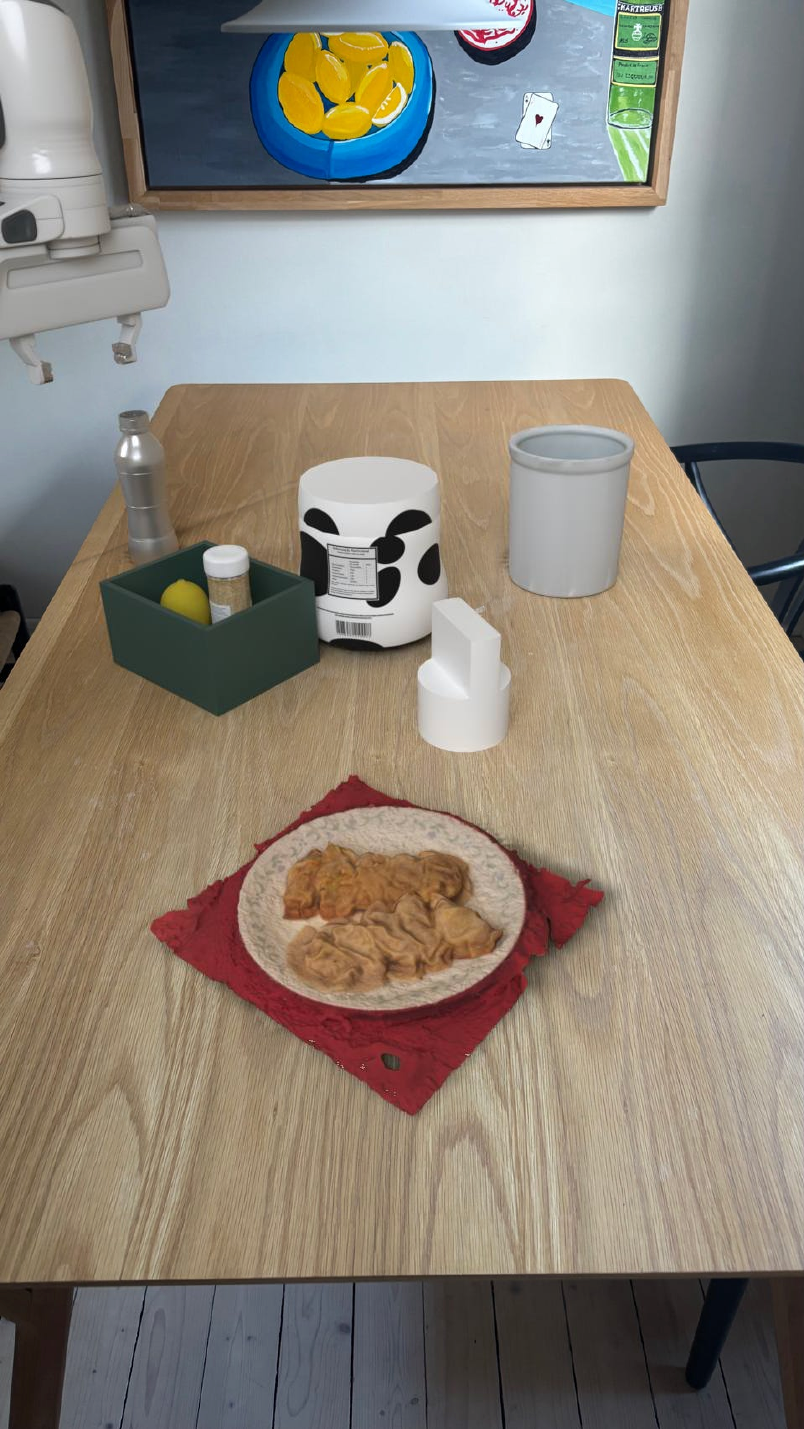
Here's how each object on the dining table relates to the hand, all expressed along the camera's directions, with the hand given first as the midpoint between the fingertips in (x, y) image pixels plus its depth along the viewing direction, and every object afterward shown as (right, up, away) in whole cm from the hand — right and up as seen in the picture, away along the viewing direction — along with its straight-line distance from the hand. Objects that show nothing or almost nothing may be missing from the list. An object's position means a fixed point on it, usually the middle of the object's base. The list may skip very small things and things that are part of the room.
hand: (85, 372), depth 98 cm
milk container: (+27, -23, +22) cm, 41 cm away
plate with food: (+28, -49, -19) cm, 60 cm away
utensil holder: (+51, -15, +33) cm, 62 cm away
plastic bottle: (-2, -13, +38) cm, 40 cm away
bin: (+10, -27, +15) cm, 32 cm away
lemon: (+6, -25, +17) cm, 31 cm away
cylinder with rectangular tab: (+36, -34, +4) cm, 50 cm away
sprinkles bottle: (+13, -28, +13) cm, 33 cm away
